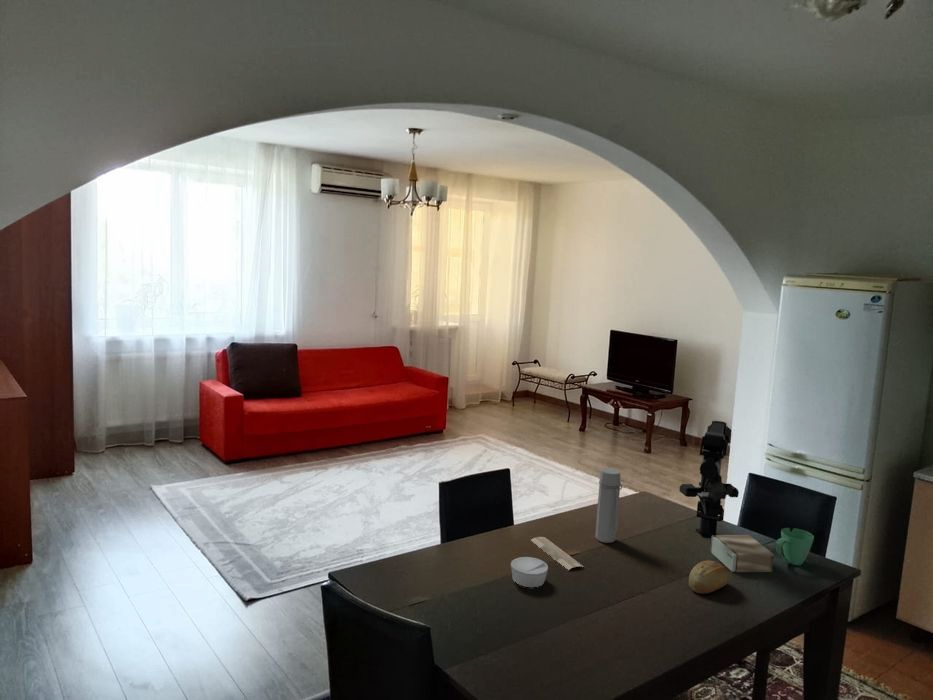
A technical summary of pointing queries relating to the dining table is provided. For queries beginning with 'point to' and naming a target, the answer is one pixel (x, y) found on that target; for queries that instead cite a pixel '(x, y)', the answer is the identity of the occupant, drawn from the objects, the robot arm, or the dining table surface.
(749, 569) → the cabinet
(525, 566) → the ramekin
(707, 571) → the bread roll
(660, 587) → the dining table surface
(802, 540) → the mug
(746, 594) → the dining table surface
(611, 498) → the water bottle
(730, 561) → the door
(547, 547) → the newspaper
